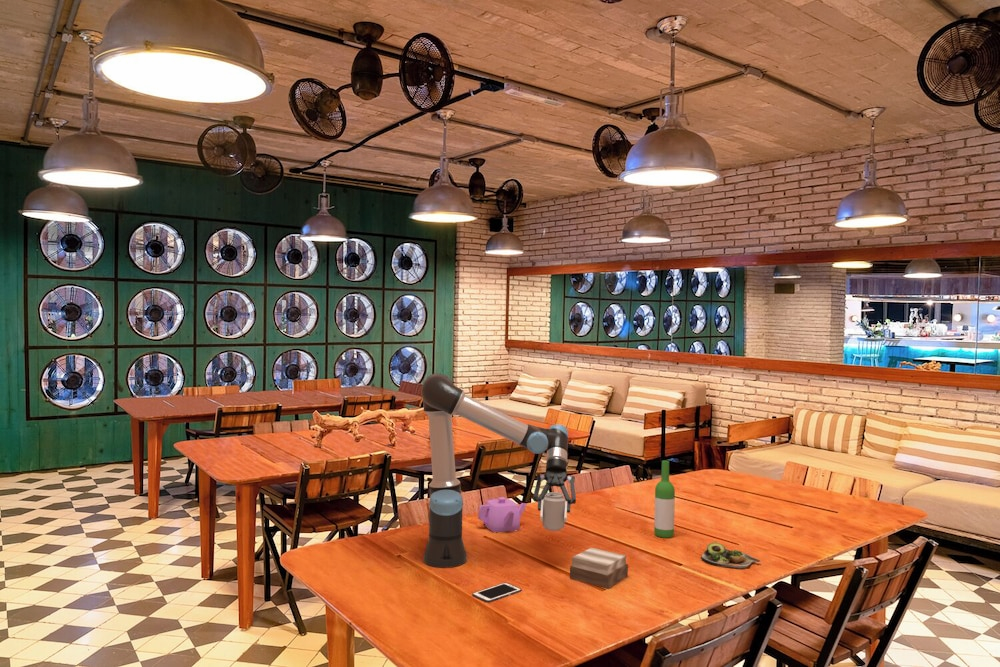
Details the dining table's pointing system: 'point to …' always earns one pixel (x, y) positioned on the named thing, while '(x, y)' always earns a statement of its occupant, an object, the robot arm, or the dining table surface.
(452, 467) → the robot arm
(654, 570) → the dining table surface
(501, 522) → the teakettle
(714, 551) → the salad plate
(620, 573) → the plinth
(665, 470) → the wine bottle
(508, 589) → the cell phone
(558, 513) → the can
